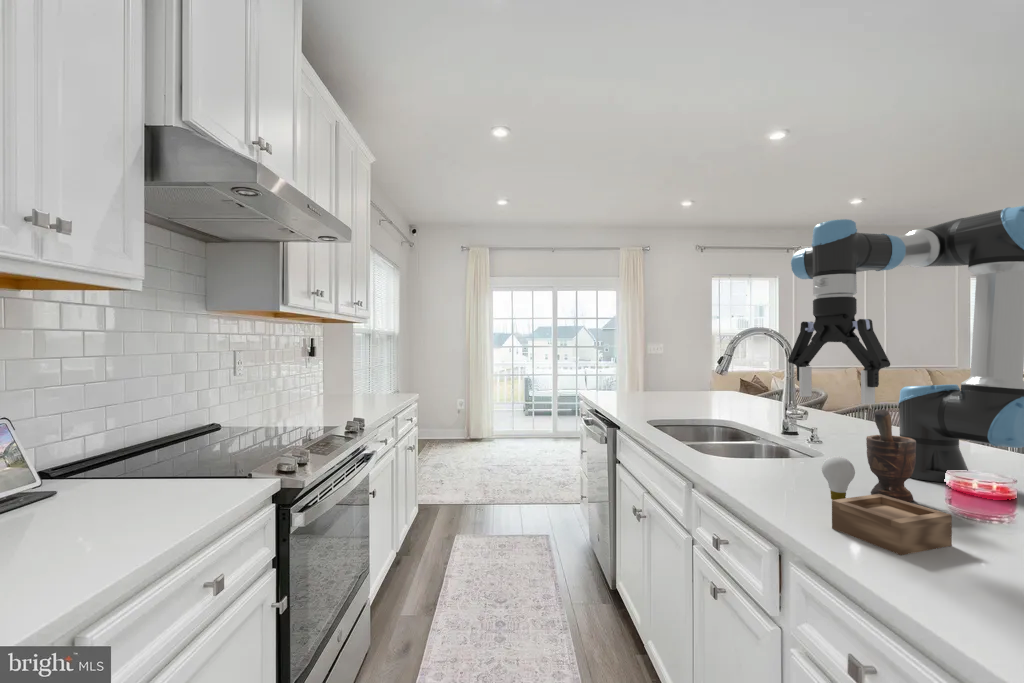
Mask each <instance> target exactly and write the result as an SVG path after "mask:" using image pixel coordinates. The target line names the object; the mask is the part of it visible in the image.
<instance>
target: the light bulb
mask: <svg viewBox="0 0 1024 683" xmlns="http://www.w3.org/2000/svg"><path fill="white" fill-rule="evenodd" d="M821 473H822V475H823V477H824V478H825V480H826V481H827V484H828V488H829V491H830V499H831V501H832V500H837V499H844V498H847V497H846V495H847V492H848V489H849V488H848V487H849V485H850V484H851V482H852V481H853V480H854V478H855V475H856V470H855V467H854V465H853V464H852V463H851V460H848V458H846V457H843V456H840V455H839V456H838V455H833V456H832V455H831V456H829V457H827V458H826V459H824V461H823V463H822V464H821Z"/></svg>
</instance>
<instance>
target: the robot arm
mask: <svg viewBox="0 0 1024 683" xmlns="http://www.w3.org/2000/svg"><path fill="white" fill-rule="evenodd" d="M856 224H857V222H855V221H854V220H852V219H847V218H843V219H842V218H841V219H832V220H828V221H823V222H819V223H818V224H816V225H815V226H814V227H813V231H812V242H811V246H807V247H806V248H802V249H799V250H798V251H796V252H795V253H794V254H793V255H792V258H791V259H790V260H791V261H790V267H791V271H792V273H793V275H794V276H795V277H796V278H798V279H800V280H812V296H814V297H815V298H814V299H813V300H812V315H813V316H814V319H815V320H814V321H801V323H800V330H799V332H798V336H797V338H796V340H795V342H794V344H793V348H792V350H791V352H790V354H789V356H788V360H787V361H788V363H789V364H792V365H795V367H796V380H797V382H798V383H799V385H798V386H799V387H798V388H799V392H798V393H799V395H798V396H799V397H800V398H808V397H812V396H813V393H812V392H813V391H812V390H813V389H812V388H813V386H812V385H813V384H812V383H813V380H812V376H813V374H812V373H813V372H812V368H813V367H812V366H811V365H810V363H811V362H812V360H813V359H814V358H815V357H816V355H817V354H818V353H819V351H820V350H821V349H822V348H823V346H824V345H826V344H827V343H842V344H844V345H846V347H847V348H848V349H849V351H850V352H851V353H852V354H853V356H854V357H855V358H856V359H857V360H858V362H859V363H860V364H861V366H863V367H864V368H863V370H860V404H861V405H864V406H866V405H876V388H879V385H880V380H879V379H880V376H879V374H880V370H881V369H884V368H889V367H890V366H891V361H890V360H889V357H888V356H887V354H886V352H885V350H884V348H883V346H882V345H881V343H880V341H879V339H878V337H877V335H876V333H875V331H874V326H873V321H872V319H870V318H858V319H857V320H856V318H855V316H856V315H857V309H858V308H857V306H858V305H857V300H858V299H857V298H856V296H855V297H854V295H856V294H857V293H858V290H857V288H858V287H857V286H858V285H857V273H860V272H866V271H867V272H868V271H876V272H881V271H889V270H890V271H891V270H893V269H895V268H898V267H903V266H904V267H905V266H909V267H912V268H926V267H961V266H967V270H968V271H969V272H971V273H972V274H973V275H974V276H975V292H974V295H975V296H974V307H973V308H974V309H973V323H972V324H973V327H972V340H971V341H972V342H971V343H972V344H971V358H970V359H971V360H970V361H971V362H970V374H969V375H970V376H969V377H968V378H967V379H965V380H964V381H962V382H961V383H960V387H959V385H958V384H935V385H934V384H933V385H910V386H909V385H907V386H904V387H902V388H901V389H900V390H899V400H898V413H899V415H898V416H899V419H898V420H899V421H898V422H899V424H898V425H899V436H901V437H908V438H912V439H914V440H915V441H916V461H915V467H914V471H913V473H912V475H911V477H910V478H911V479H915V480H916V479H917V480H921V481H922V480H923V481H929V482H936V483H945V482H944V479H945V473H946V471H947V470H969V468H968V466H967V464H966V461H965V459H964V457H963V454H962V452H961V449H960V440H964V441H969V442H973V443H980V444H986V445H990V446H991V445H992V446H993V447H999V448H1000V447H1004V448H1005V447H1007V448H1013V449H1020V448H1024V205H1020V206H1015V207H1010V206H1008V207H1004V208H1003V209H999V210H994V211H990V212H985V213H981V214H974V215H971V216H967V217H959V218H955V219H953V220H949V221H946V222H943V223H938V224H936V225H933V226H929V227H925V228H919V229H914V230H912V231H909V232H908V233H906V234H904V235H902V234H901V235H891V234H887V233H864V232H858V228H857V225H856ZM855 330H857V332H858V334H859V336H860V338H861V340H862V342H863V344H862V342H861V341H860V338H859V337H858V335H857V334H856V333H855V332H854V331H855ZM814 331H815V333H814Z"/></svg>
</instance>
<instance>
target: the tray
mask: <svg viewBox="0 0 1024 683" xmlns="http://www.w3.org/2000/svg"><path fill="white" fill-rule="evenodd" d="M952 516H953V515H952V514H950V513H946V512H943V511H940V510H937V509H932V508H930V507H926V506H923V505H919V504H916V503H913V502H906V501H902V500H899V499H896V498H892V497H889V496H885V495H882V494H873V495H871V494H867V495H861V496H860V495H859V496H852V497H846V498H844V499H837V500H832V499H831V529H833V530H835V531H838V532H839V533H843V534H844V535H845V534H846V535H848V536H850V537H853V538H856V539H858V540H860V541H863V542H866V543H868V544H871V545H873V546H875V547H877V548H878V547H879V548H880V549H883V550H886V551H888V552H891V553H893V554H896V555H899V556H905V555H910V554H917V553H921V552H927V551H931V550H936V548H937V549H941V548H942V547H943V548H947V547H951V546H953V532H952V531H953V523H952V520H953V517H952Z"/></svg>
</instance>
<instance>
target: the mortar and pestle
mask: <svg viewBox="0 0 1024 683" xmlns="http://www.w3.org/2000/svg"><path fill="white" fill-rule="evenodd" d="M873 418H874V423H875V425H876V427H877V429H878V432H879V434H873V435H867V436H866V437H865V439H866V441H865V443H866V445H865V446H866V457H867V464H868V465H869V469H870V471H871V472H872V474H874V475H875V476H876V477H877V479H878V480H877V481H878V482H877V483H876V484H875V485H874V486H873V488H872V489H871V491H870V495H873V494H882V495H885V496H889V497H892V498H896V499H899V500H902V501H906V502H909V503H912V502H913V501H914V496H913V493H912V492H911V491H910V490H909V489H907V487H906V486H905V482H906V481H908V479H910V478H911V475H912V473H913V471H914V467H915V461H916V441H915V440H914V439H912V438H908V437H901V436H900V435H893V430H892V429H893V428H892V427H893V426H892V425H893V424H892V417H891V414H890V412H889V411H888V410H886V409H877V410H876V411H874V413H873Z"/></svg>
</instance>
